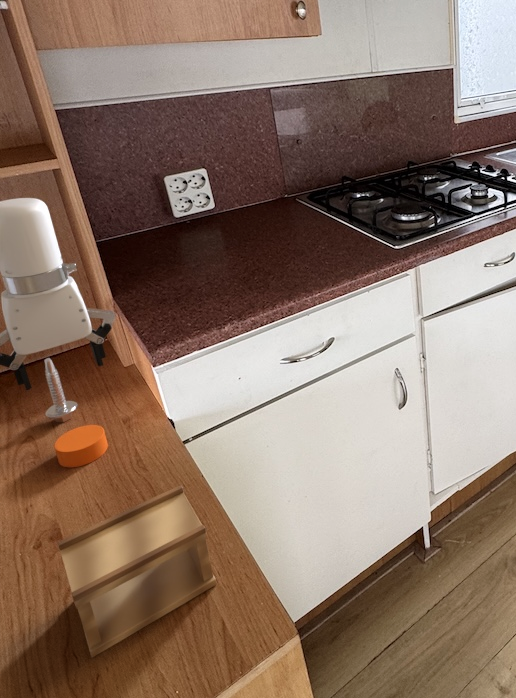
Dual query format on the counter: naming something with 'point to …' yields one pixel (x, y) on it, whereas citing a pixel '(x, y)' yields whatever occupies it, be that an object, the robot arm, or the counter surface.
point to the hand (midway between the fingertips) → (64, 374)
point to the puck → (81, 446)
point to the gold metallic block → (136, 567)
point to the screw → (57, 396)
